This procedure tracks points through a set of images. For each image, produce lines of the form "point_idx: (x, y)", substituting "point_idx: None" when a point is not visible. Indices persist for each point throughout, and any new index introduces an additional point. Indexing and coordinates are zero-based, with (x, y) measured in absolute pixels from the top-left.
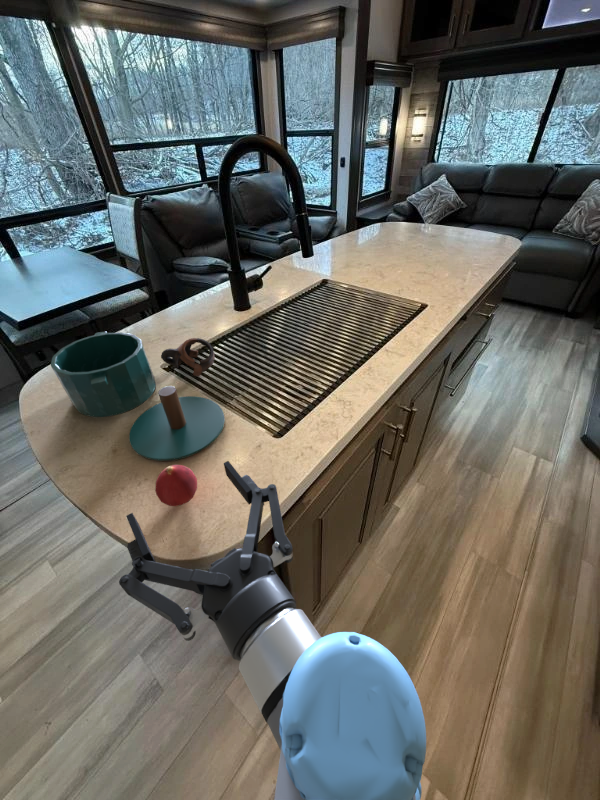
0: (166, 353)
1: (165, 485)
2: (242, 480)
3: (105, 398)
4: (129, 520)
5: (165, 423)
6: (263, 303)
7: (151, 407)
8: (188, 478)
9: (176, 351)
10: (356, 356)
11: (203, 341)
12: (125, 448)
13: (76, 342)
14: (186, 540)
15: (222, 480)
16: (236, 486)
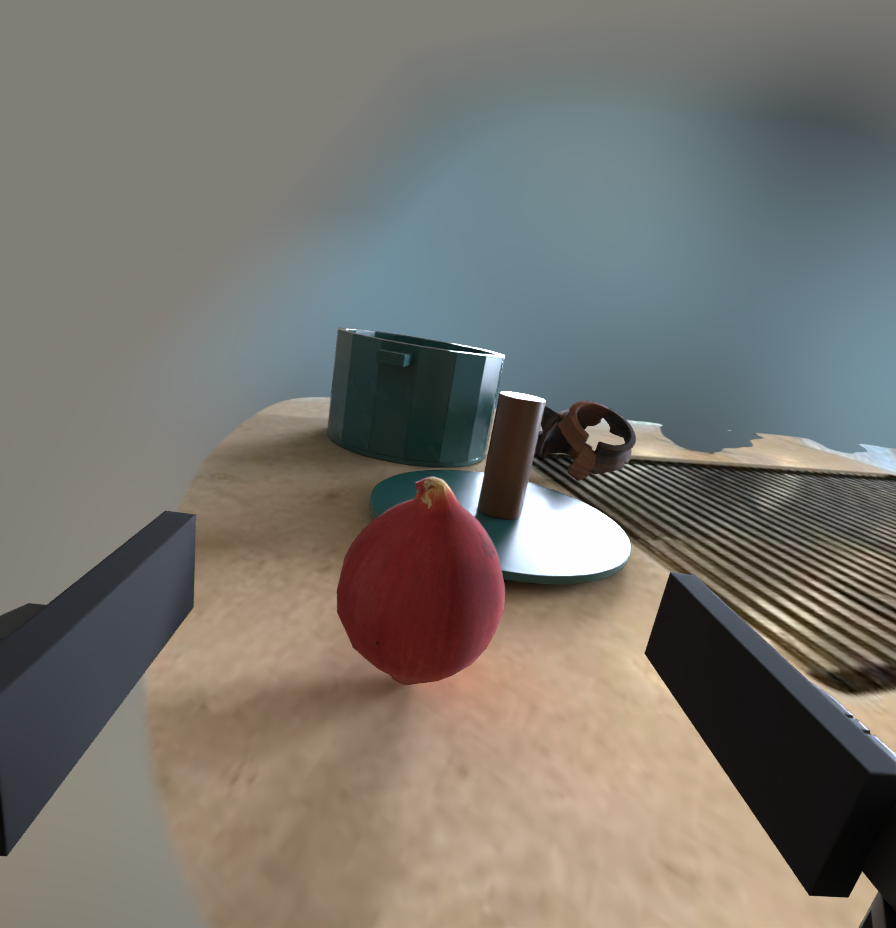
0: None
1: (387, 537)
2: (804, 684)
3: (383, 411)
4: (152, 525)
5: (470, 498)
6: (742, 457)
7: (456, 470)
8: (481, 569)
9: (556, 413)
10: None
11: (620, 417)
12: (355, 502)
13: (397, 334)
14: (314, 856)
15: (580, 702)
16: (712, 720)
